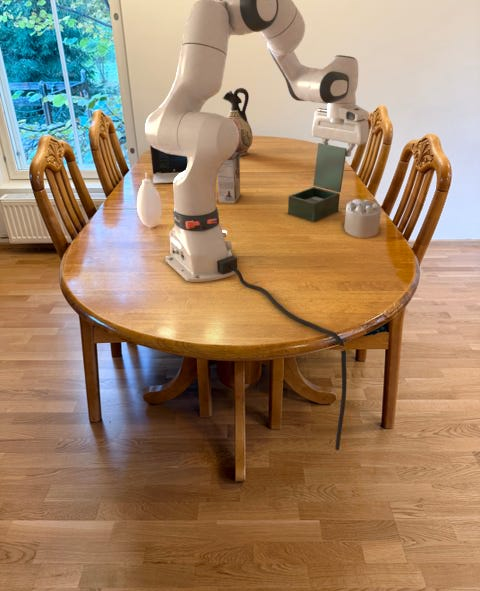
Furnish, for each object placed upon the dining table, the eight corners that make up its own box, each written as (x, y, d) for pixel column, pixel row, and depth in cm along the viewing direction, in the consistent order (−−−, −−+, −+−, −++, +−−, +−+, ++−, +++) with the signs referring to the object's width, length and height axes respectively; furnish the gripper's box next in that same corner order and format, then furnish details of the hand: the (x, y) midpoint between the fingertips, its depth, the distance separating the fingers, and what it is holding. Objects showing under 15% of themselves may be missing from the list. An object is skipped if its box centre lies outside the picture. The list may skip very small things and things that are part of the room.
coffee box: (223, 194, 184) (222, 151, 176) (240, 195, 183) (240, 152, 175) (218, 202, 177) (216, 158, 169) (235, 203, 176) (234, 158, 167)
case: (313, 222, 159) (315, 203, 156) (287, 213, 166) (288, 196, 163) (338, 211, 168) (339, 193, 164) (312, 203, 174) (313, 186, 171)
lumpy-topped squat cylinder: (376, 222, 158) (379, 196, 154) (379, 238, 147) (383, 211, 143) (343, 221, 160) (346, 195, 155) (344, 237, 149) (347, 210, 144)
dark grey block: (310, 216, 162) (311, 206, 160) (296, 212, 165) (297, 202, 163) (327, 209, 167) (328, 199, 165) (313, 205, 171) (314, 195, 169)
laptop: (152, 184, 196) (149, 151, 189) (153, 175, 207) (149, 144, 200) (197, 182, 198) (195, 149, 191) (195, 173, 209) (193, 142, 202)
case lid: (345, 148, 157) (354, 147, 161) (318, 143, 164) (326, 142, 167) (339, 192, 164) (347, 190, 167) (313, 185, 171) (321, 183, 174)
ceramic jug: (216, 157, 232) (213, 89, 217) (226, 149, 245) (224, 84, 230) (250, 159, 228) (250, 90, 212) (259, 151, 240) (259, 85, 225)
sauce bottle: (140, 232, 154) (133, 176, 145) (138, 223, 160) (131, 169, 151) (165, 229, 155) (160, 173, 146) (162, 220, 162) (157, 166, 153)
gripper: (309, 108, 162) (307, 150, 169) (362, 116, 150) (357, 161, 157) (320, 106, 166) (318, 147, 173) (373, 113, 154) (368, 157, 161)
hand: (337, 154), depth 165 cm, fingers open, 7 cm apart
